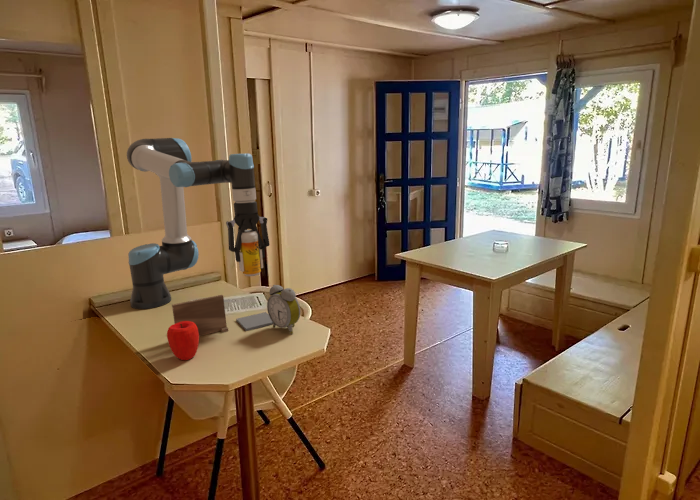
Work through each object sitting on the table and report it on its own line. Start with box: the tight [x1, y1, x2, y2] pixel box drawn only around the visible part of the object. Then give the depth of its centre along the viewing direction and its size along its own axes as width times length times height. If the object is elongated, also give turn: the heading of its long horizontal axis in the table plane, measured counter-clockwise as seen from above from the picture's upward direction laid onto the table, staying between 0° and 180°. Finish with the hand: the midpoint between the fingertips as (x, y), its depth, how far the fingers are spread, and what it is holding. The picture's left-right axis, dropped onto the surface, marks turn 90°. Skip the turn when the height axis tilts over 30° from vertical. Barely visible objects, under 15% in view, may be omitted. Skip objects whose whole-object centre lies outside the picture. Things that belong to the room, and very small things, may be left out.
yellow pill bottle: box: [240, 229, 262, 277], centre depth 153 cm, size 6×6×15 cm
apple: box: [166, 321, 200, 361], centre depth 133 cm, size 9×9×11 cm
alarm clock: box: [266, 284, 301, 335], centre depth 150 cm, size 12×7×15 cm, turn 47°
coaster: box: [236, 311, 273, 332], centre depth 159 cm, size 11×11×1 cm
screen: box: [171, 294, 229, 337], centre depth 149 cm, size 5×16×12 cm, turn 120°
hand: (251, 268), depth 155 cm, fingers closed on yellow pill bottle, 6 cm apart
